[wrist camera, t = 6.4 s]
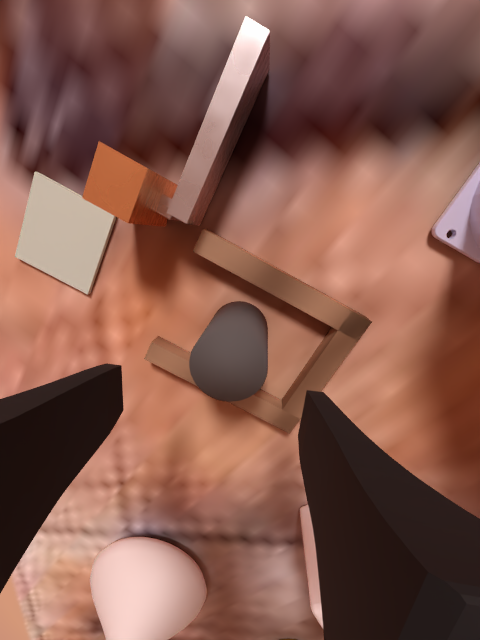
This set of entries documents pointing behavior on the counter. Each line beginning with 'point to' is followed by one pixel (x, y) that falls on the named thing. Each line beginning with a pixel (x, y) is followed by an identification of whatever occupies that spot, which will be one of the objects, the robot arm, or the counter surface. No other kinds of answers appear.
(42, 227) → the off-white flat square block
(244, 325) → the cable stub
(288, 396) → the frame
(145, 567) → the flower in vase
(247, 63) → the latch bar
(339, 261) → the counter surface
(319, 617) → the medicine bottle
